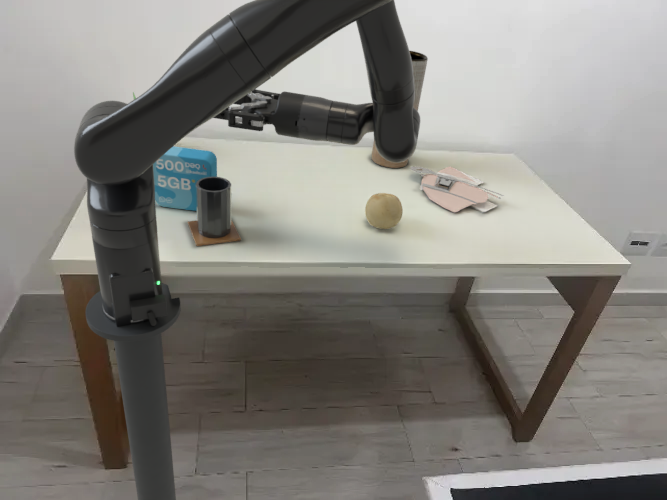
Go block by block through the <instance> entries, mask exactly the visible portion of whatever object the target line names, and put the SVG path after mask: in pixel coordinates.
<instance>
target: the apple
mask: <svg viewBox="0 0 667 500" xmlns="http://www.w3.org/2000/svg"><path fill="white" fill-rule="evenodd" d="M403 211H404V210H403V205H402V202H401V200H400V199H399V197H398V196H396V195H395V194H392V193H387V192H378V193H375V194H373V195H371V196H370V197H369V198H368V199H367V202H366V204H365V209H364V212H365V213H364V214H365V217H366V220H367V222H368V223H369V224H370V225H371V226H372V227H374V228H376V229H379V230H380V229H381V230H389V229H392V228H394V227H396V226H397V225H398V224H399V223H400V222H401V220H402V218H403Z"/></svg>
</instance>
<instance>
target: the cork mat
mask: <svg viewBox="0 0 667 500" xmlns="http://www.w3.org/2000/svg"><path fill="white" fill-rule="evenodd" d="M187 225H188V228H189V231H190V233H191V237H192V239H193V241H194V244H195V246H196V247H201V246H208V245H216V244H224V243H225V244H226V243H230V242H239V241H241V240H242V238H241V236H240V234H239V232H238V229H237V228H236V226H235V224H234V222H233V220H232V219H231V231H230V233H229V234H228V235H226V236H224V237H221V238H207V237H204V236H202V235H200V234H199V232H198V228H197V220H189V221H188V220H187Z"/></svg>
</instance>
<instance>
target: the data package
mask: <svg viewBox="0 0 667 500" xmlns="http://www.w3.org/2000/svg"><path fill="white" fill-rule="evenodd" d="M153 169H154V182H155V203H156V204H157V205H158V206H160V207H163V208H169V209H170V208H172V209H178V210H187V211H193V212H197V205H196V182H197V181H198V180H200V179H201V178H205V177H218V157H217V155H216V154H215V153H214V152H213V151H211V150H205V149H197V148H190V147H181V146H175V145H174V146H173V147H172V148H171V149H169V150H168V151H167V152H166V153H165V154H164V155H163V156H162V157H160V158H159V159H158V160H157V161H156V162H155V163H154V164H153Z"/></svg>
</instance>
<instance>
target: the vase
mask: <svg viewBox="0 0 667 500" xmlns="http://www.w3.org/2000/svg"><path fill="white" fill-rule="evenodd" d="M409 52H410V55H411V60H412V66H413V76H414V86H415V98H414V105H413V107H414V108H415V109H416V110H417V111H418V112H419V107H420V102H421V96H422V91H423V86H424V81H425V75H426V71H427V67H428V66H427V65H428V60H429V58H428V56H427V55H426V54H424V53H422V52H418V51H415V50H409ZM371 160H372V162H373V163H375V164H376V165H378V166H382V167H384V168H387V169H388V168H390V169H401V168H404V167H406V166H407V165H408V163H409V159H407V160H406V161H403V162H400V163H393V162H390V161H387V160H385V159H384V158H383V157H382V156H381V155H380V154H379V153H378V151H377V149H376V146H375V142H374V141H373V143H372V150H371Z"/></svg>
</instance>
